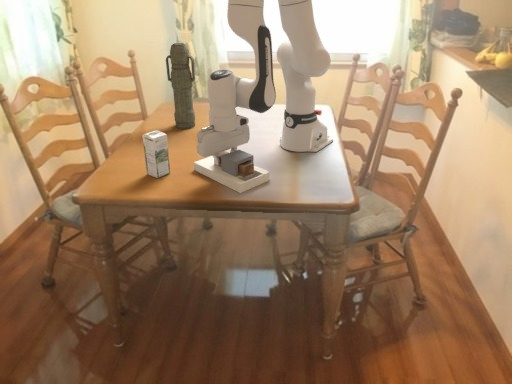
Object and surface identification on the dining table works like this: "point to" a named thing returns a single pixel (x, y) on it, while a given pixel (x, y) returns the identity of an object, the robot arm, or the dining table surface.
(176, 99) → the thermos
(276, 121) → the dining table surface
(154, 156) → the syrup box
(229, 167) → the board
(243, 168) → the bar
